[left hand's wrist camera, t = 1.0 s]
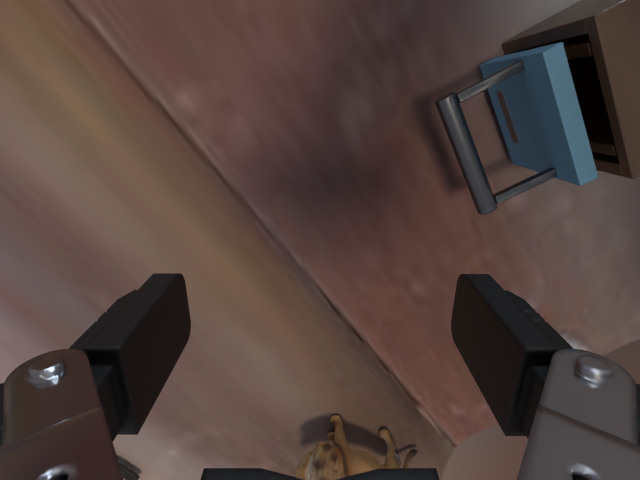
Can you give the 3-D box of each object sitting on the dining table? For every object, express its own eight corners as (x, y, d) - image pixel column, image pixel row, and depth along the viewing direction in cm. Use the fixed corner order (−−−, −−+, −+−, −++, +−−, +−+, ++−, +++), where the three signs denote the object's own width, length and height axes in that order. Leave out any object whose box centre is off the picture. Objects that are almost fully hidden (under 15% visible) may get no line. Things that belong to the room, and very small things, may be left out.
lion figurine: (293, 440, 45) (288, 518, 37) (303, 406, 43) (300, 480, 35) (410, 461, 47) (430, 541, 38) (424, 429, 45) (449, 506, 36)
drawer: (450, 193, 34) (494, 225, 25) (412, 101, 31) (447, 101, 23) (736, 55, 30) (902, 38, 22) (721, -65, 27) (905, -139, 19)
